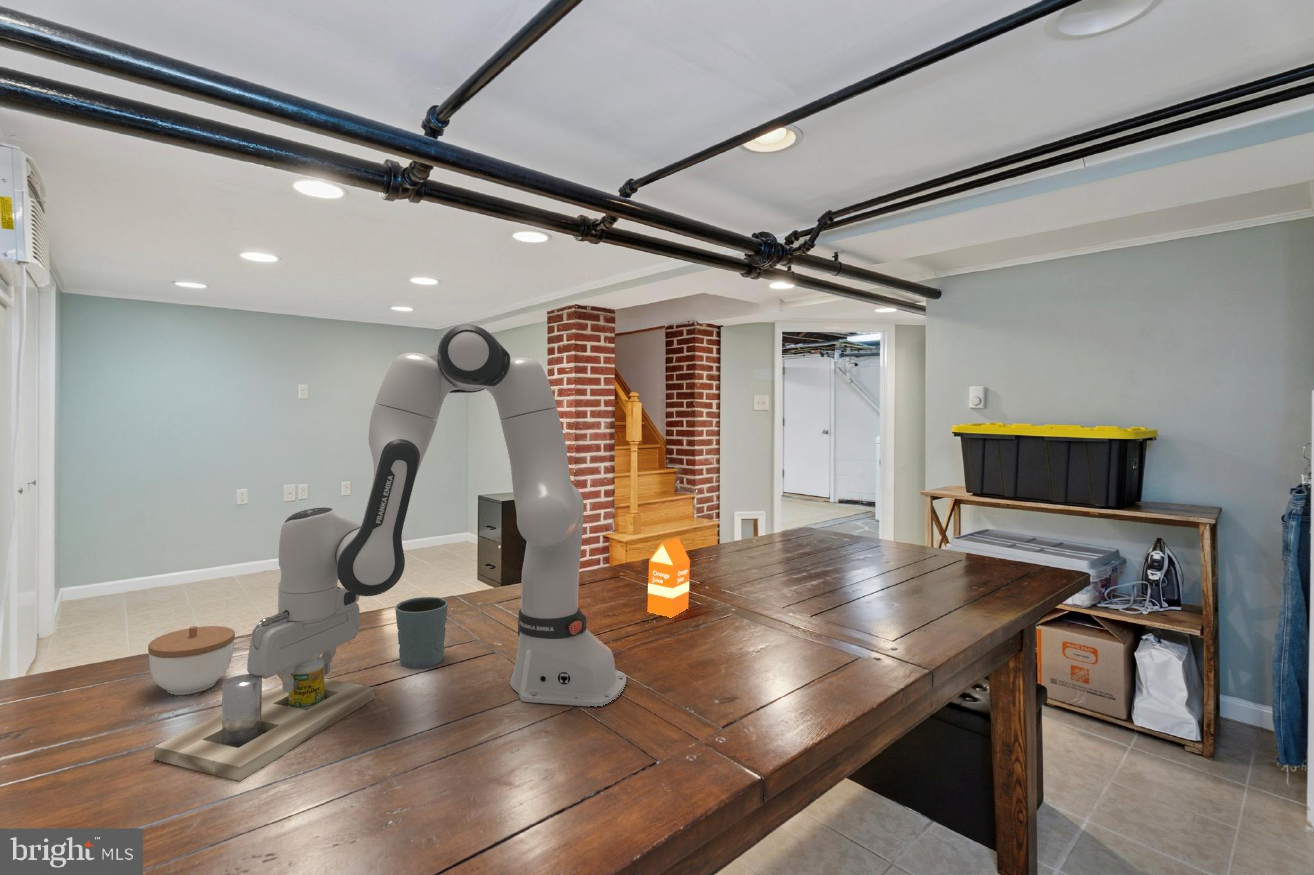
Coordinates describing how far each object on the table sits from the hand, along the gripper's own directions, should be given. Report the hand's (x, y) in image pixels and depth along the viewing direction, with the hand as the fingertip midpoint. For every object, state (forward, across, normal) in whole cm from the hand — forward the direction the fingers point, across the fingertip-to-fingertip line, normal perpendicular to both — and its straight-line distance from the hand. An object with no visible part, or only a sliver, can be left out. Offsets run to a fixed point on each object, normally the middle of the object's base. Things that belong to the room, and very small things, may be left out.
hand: (307, 682), depth 104 cm
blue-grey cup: (+5, +24, -5) cm, 25 cm away
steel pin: (+5, -12, 0) cm, 13 cm away
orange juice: (+5, +72, -46) cm, 86 cm away
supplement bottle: (+4, 0, 0) cm, 4 cm away
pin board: (+5, -6, 0) cm, 8 cm away
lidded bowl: (+5, 0, +26) cm, 26 cm away
